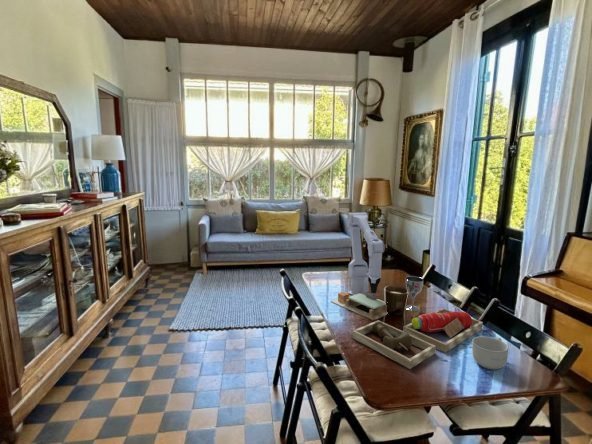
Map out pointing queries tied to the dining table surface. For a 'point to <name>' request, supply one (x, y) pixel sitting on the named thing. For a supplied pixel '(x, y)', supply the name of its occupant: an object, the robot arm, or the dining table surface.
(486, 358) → the teacup
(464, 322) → the water bottle
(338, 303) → the mat
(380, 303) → the slide cover
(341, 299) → the wooden block
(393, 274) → the dining table surface
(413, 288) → the wine glass
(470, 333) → the bottle frame
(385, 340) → the kendama
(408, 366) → the frame
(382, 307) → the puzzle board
